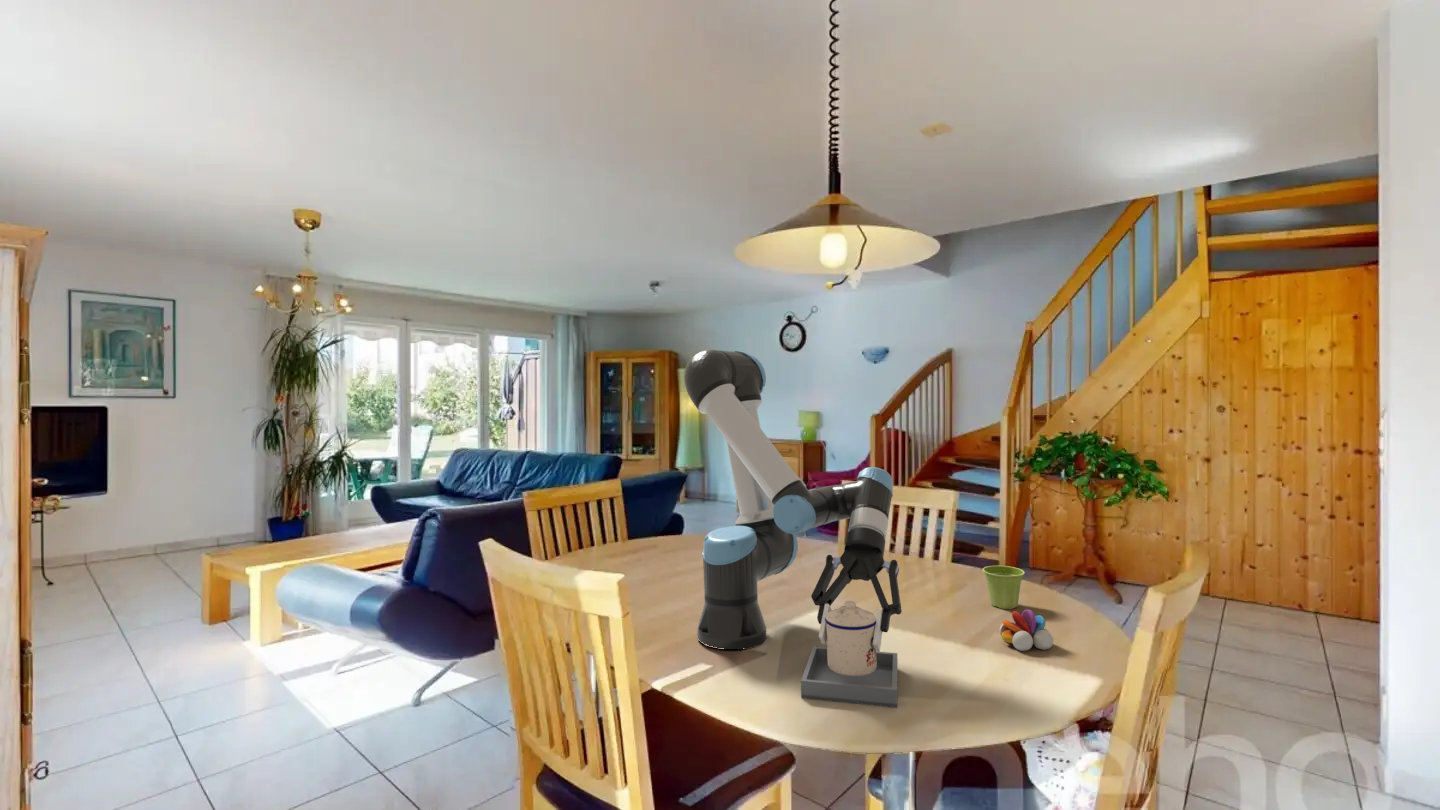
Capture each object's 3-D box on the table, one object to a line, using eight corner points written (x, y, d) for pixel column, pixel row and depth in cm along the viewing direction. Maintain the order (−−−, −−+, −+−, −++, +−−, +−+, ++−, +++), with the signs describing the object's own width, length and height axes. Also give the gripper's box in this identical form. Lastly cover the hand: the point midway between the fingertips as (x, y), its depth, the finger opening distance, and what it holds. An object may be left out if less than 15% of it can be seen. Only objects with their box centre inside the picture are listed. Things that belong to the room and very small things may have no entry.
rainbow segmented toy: (992, 638, 136) (992, 604, 136) (1036, 636, 136) (1035, 602, 136) (1013, 654, 127) (1012, 618, 127) (1060, 651, 128) (1059, 615, 128)
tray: (801, 698, 110) (800, 680, 110) (813, 661, 126) (813, 646, 126) (897, 708, 106) (896, 689, 106) (897, 668, 121) (897, 653, 121)
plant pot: (1030, 612, 152) (1029, 575, 152) (989, 611, 153) (988, 575, 153) (1018, 600, 161) (1017, 565, 161) (979, 599, 162) (978, 565, 162)
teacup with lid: (879, 679, 109) (877, 610, 109) (825, 676, 111) (823, 609, 111) (876, 652, 121) (874, 590, 121) (827, 650, 122) (825, 589, 122)
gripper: (925, 550, 125) (915, 662, 110) (818, 543, 134) (795, 645, 120) (920, 528, 120) (908, 642, 106) (809, 522, 129) (785, 626, 115)
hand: (848, 644), depth 113 cm, fingers closed on teacup with lid, 9 cm apart
